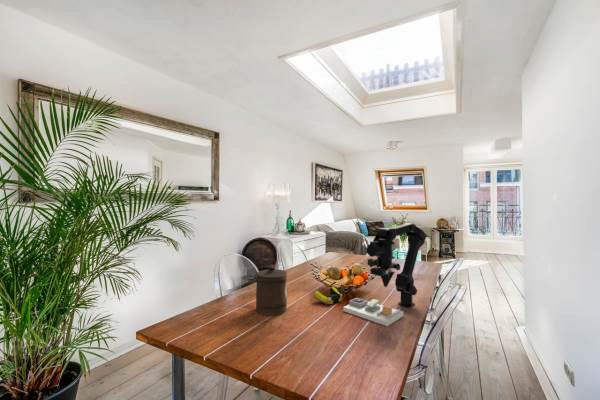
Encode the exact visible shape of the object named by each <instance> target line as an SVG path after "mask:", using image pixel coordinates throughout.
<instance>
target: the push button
mask: <svg viewBox="0 0 600 400" xmlns="http://www.w3.org/2000/svg"><path fill="white" fill-rule="evenodd" d="M362 299H363V298H360V299H355V300H354V302H357V303H362V302H363V300H364V299H363V300H362Z"/></svg>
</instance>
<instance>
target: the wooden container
mask: <svg viewBox="0 0 600 400" xmlns="http://www.w3.org/2000/svg"><path fill="white" fill-rule="evenodd" d="M267 266H268V267H267V268H268V269H263V270H260V271H257V273H256V290H255V291H256V292H255V294H256V295H255V298H256V300H255V311H256V313H258V314H259V315H261V316H269V317H272V316H279V315H281V314H284V313H285V312H286V311H287V307H288V306H287V301H288V300H287V299H288V297H287V296H288V295H287V291H288V290H287V280H288V279H287V278H288V277H287V275H288V274H287V273H288V272H287V271H286V270H282V269H278V268H277V269H276V266H275V264H269V265H267Z"/></svg>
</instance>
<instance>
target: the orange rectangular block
mask: <svg viewBox="0 0 600 400" xmlns="http://www.w3.org/2000/svg"><path fill="white" fill-rule="evenodd" d="M382 306H383V307H382V314H385V315H390V314H392V309H393V307H392V306H390V307H389V306H388V305H382Z"/></svg>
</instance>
